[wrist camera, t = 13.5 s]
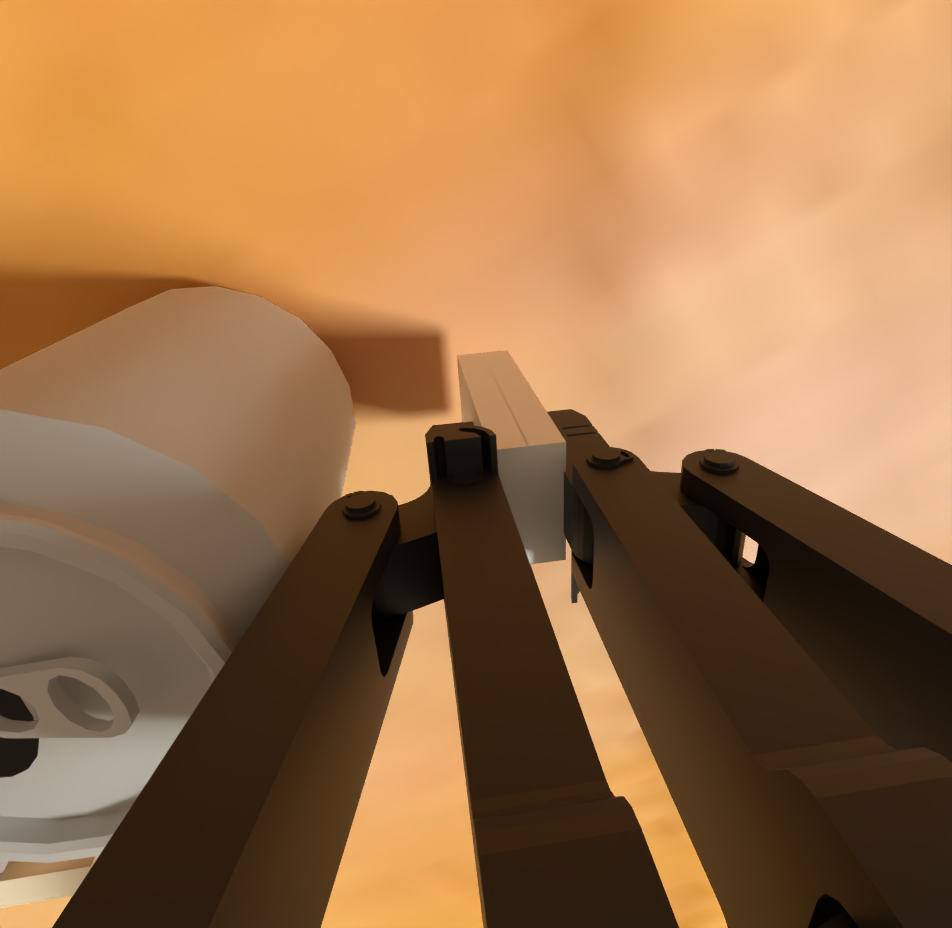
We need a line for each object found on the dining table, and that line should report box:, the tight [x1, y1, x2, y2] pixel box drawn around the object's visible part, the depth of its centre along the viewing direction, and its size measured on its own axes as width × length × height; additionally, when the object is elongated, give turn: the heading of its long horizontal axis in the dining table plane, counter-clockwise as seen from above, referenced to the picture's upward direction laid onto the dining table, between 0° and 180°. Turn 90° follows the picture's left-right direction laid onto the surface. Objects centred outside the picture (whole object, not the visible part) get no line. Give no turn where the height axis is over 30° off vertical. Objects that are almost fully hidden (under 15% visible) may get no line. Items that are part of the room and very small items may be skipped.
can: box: [0, 286, 356, 863], centre depth 13 cm, size 8×8×12 cm
